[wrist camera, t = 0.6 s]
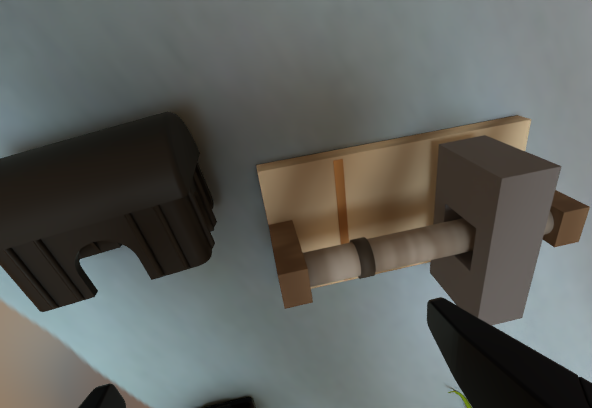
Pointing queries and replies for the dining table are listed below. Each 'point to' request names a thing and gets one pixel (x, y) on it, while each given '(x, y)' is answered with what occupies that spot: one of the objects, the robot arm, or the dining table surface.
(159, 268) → the end cap
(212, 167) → the dining table surface
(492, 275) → the collar
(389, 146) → the pipe stand
